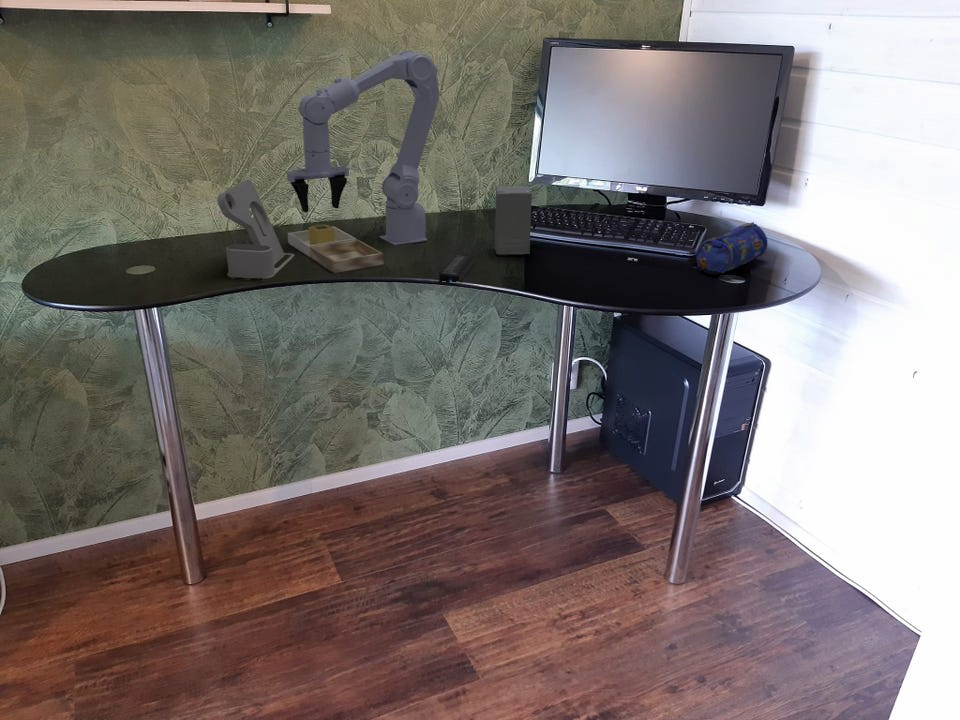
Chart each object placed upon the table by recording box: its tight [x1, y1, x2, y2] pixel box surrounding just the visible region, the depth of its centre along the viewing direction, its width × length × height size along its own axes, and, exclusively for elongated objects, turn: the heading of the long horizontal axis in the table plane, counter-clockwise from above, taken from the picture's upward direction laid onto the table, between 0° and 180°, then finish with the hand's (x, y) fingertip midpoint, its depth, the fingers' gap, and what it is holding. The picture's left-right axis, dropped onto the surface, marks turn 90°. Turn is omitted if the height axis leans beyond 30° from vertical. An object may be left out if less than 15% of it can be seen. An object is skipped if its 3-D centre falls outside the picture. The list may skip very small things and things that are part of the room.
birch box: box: [310, 239, 385, 276], centre depth 175 cm, size 12×12×3 cm
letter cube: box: [308, 224, 335, 245], centre depth 184 cm, size 4×4×5 cm
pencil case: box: [696, 221, 768, 274], centre depth 181 cm, size 22×9×10 cm, turn 138°
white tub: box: [287, 225, 358, 258], centre depth 184 cm, size 12×12×3 cm
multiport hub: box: [438, 254, 475, 284], centre depth 172 cm, size 4×14×2 cm, turn 167°
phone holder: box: [217, 179, 295, 279], centre depth 168 cm, size 17×10×18 cm, turn 174°
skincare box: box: [494, 185, 533, 255], centre depth 183 cm, size 8×7×16 cm
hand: (320, 209), depth 181 cm, fingers open, 7 cm apart
